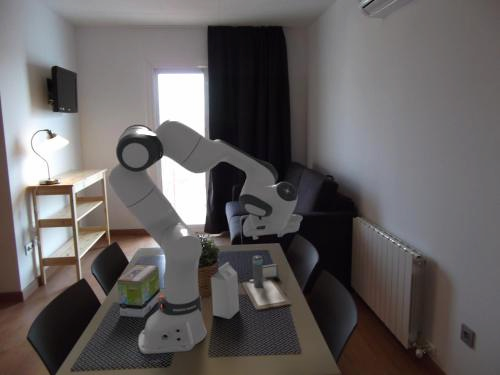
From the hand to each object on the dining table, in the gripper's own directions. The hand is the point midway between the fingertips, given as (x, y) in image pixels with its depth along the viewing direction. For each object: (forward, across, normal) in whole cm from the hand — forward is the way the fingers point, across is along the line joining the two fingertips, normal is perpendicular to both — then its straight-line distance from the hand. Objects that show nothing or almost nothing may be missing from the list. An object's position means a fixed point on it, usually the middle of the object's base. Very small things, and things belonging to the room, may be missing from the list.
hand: (267, 236), depth 141 cm
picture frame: (+37, -8, +2) cm, 38 cm away
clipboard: (+27, -2, +12) cm, 30 cm away
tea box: (+32, +47, +10) cm, 58 cm away
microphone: (+31, -1, +8) cm, 32 cm away
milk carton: (+21, +16, +20) cm, 33 cm away
